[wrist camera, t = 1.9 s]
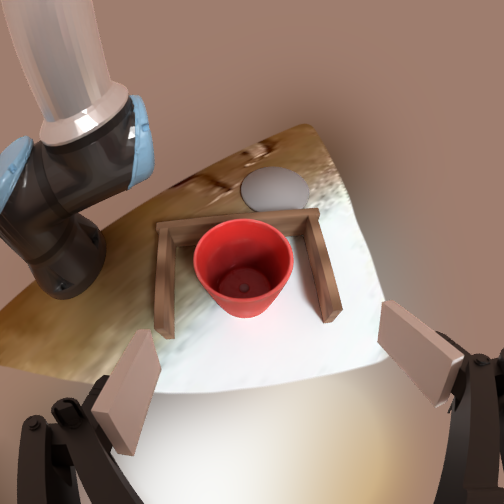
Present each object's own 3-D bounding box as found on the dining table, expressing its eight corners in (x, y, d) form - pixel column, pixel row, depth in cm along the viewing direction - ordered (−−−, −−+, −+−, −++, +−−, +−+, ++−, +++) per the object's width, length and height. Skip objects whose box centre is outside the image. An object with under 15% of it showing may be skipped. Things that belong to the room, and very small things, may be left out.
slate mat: (229, 204, 46) (229, 201, 46) (257, 162, 52) (257, 160, 52) (297, 226, 44) (297, 224, 43) (316, 180, 49) (316, 178, 49)
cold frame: (336, 321, 35) (347, 308, 31) (161, 339, 34) (149, 328, 30) (312, 228, 44) (317, 207, 39) (165, 241, 42) (156, 222, 38)
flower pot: (229, 247, 42) (224, 204, 33) (296, 277, 39) (308, 239, 31) (191, 305, 37) (173, 272, 29) (262, 342, 34) (266, 320, 26)
